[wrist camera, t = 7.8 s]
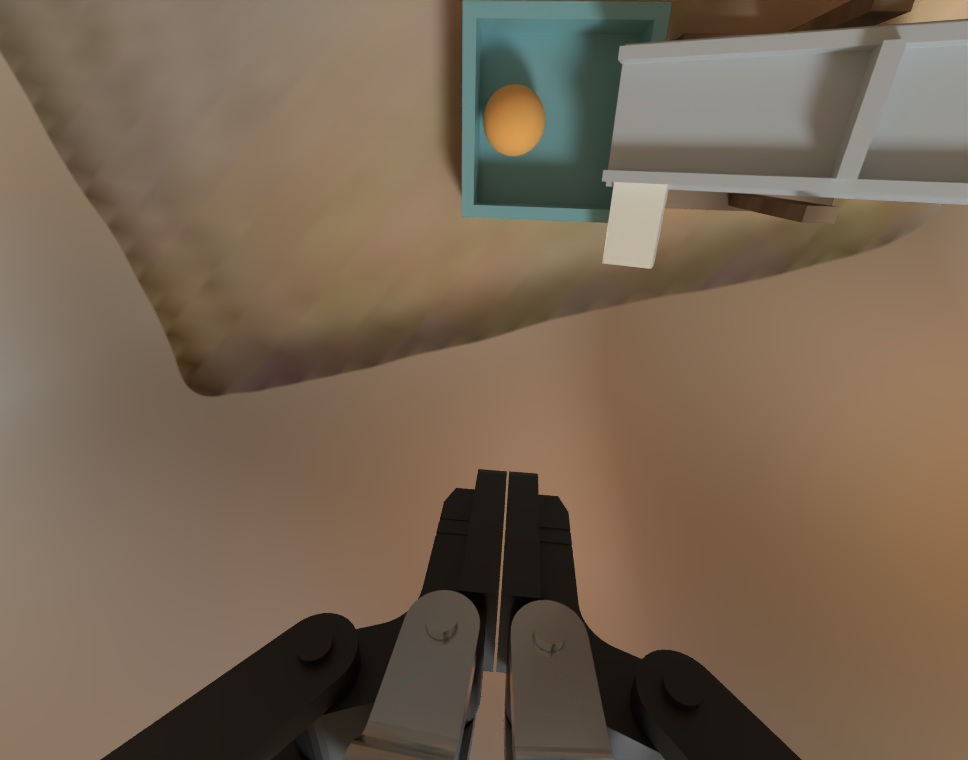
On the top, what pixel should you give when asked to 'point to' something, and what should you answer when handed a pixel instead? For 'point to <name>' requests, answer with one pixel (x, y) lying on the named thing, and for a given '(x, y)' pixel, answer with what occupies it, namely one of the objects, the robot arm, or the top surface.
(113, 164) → the top surface
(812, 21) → the stand
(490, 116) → the ball
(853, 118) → the chute
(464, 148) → the teal square tray
